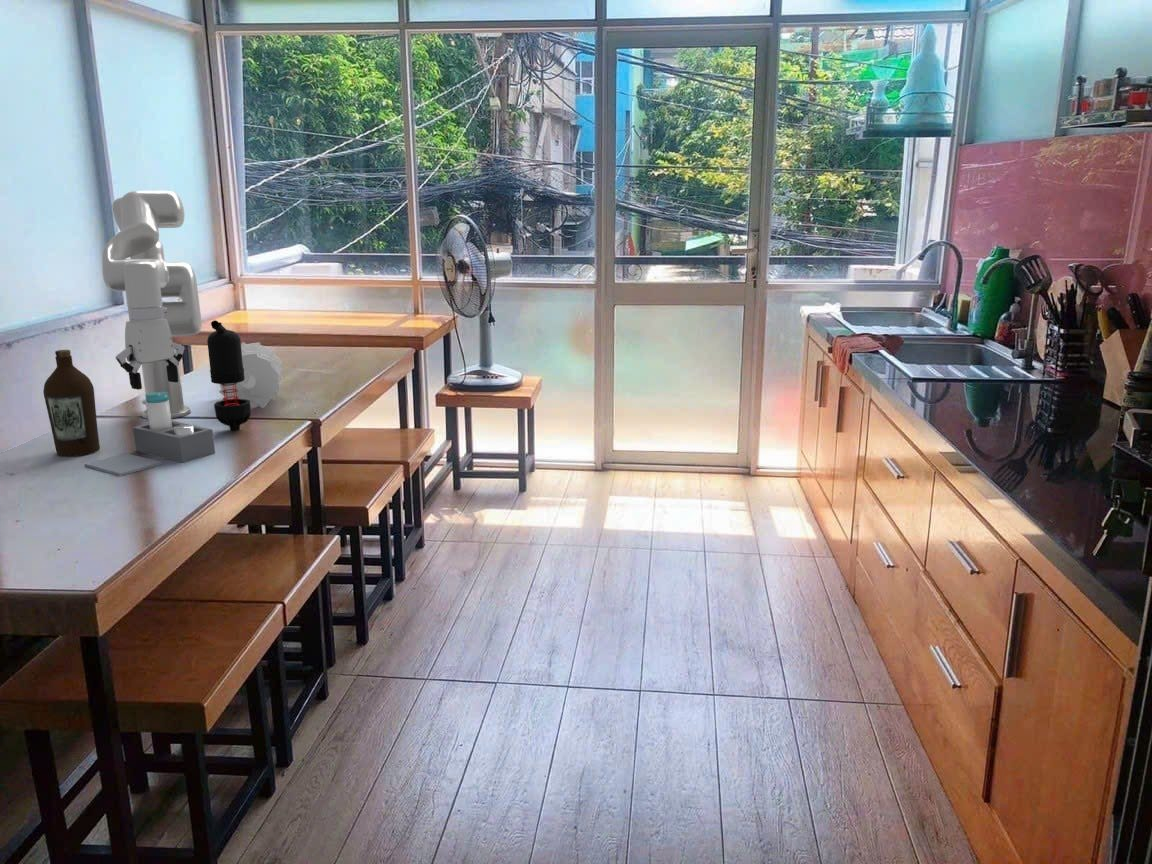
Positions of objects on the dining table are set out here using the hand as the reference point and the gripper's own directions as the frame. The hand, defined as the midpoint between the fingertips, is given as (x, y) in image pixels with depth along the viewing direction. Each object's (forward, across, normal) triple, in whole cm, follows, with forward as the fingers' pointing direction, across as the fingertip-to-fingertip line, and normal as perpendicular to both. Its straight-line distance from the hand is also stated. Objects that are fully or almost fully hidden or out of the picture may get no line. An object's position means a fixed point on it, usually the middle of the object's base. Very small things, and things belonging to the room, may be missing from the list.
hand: (155, 385), depth 216 cm
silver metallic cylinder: (+14, -1, +8) cm, 17 cm away
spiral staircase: (+16, -44, -21) cm, 52 cm away
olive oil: (+16, +11, -17) cm, 26 cm away
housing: (+16, -1, +4) cm, 17 cm away
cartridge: (+16, 0, -1) cm, 16 cm away
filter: (+16, -23, -1) cm, 28 cm away
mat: (+16, +12, +3) cm, 21 cm away
